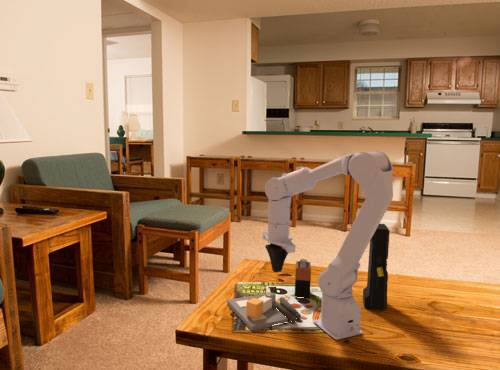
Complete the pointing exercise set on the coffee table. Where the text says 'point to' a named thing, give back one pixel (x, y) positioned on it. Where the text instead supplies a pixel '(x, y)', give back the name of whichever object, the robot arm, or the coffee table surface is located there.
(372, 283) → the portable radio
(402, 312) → the coffee table surface
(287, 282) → the coffee table surface
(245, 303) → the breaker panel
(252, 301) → the lever
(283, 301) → the dark grey rounded rod
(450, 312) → the coffee table surface
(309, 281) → the battery
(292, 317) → the dark grey rod
